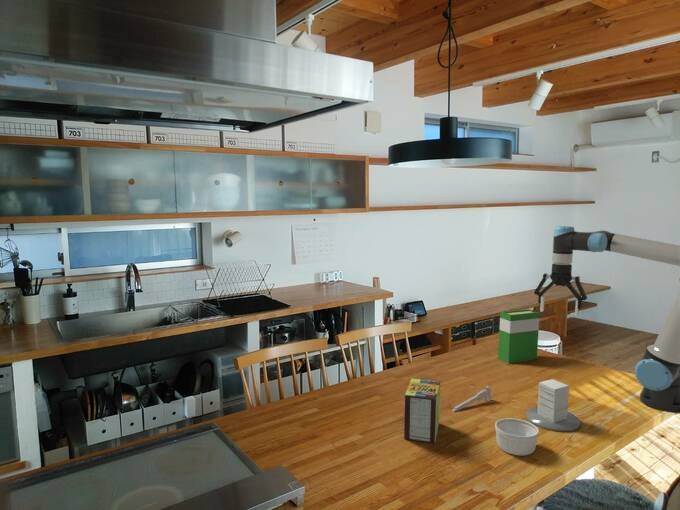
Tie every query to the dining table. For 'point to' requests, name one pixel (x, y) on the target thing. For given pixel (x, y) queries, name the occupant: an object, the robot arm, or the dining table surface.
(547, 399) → the supplement box
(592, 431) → the dining table surface
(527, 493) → the dining table surface
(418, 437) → the protein box
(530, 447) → the ramekin
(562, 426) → the disc
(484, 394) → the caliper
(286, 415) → the dining table surface
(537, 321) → the green white box
